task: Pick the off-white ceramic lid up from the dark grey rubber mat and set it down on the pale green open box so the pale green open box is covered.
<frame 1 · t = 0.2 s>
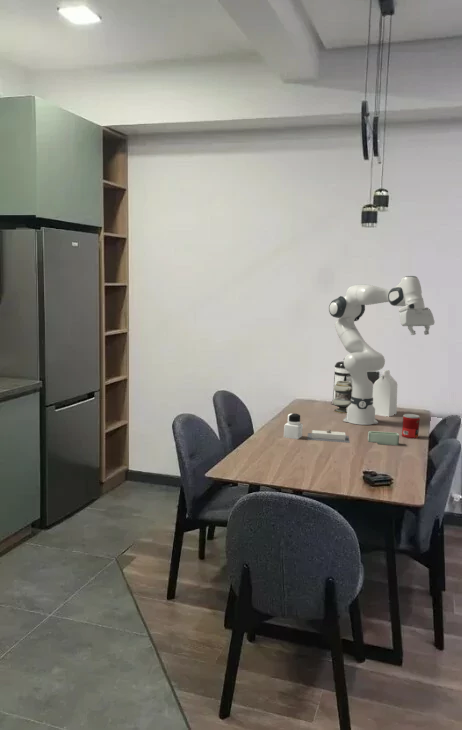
hand: (420, 334, 312), 52 cm above the table, tool tilted 20°, fingers open, 8 cm apart
pale green open box: (382, 443, 305), on the table
medicine bottle: (292, 438, 308), on the table
lid: (328, 437, 309), point 1 cm above the table, touching mat
coffee press: (344, 405, 400), on the table
mat: (328, 439, 309), on the table
canned food: (409, 437, 321), on the table
milk: (383, 414, 377), on the table
apothecary jar: (342, 411, 379), on the table
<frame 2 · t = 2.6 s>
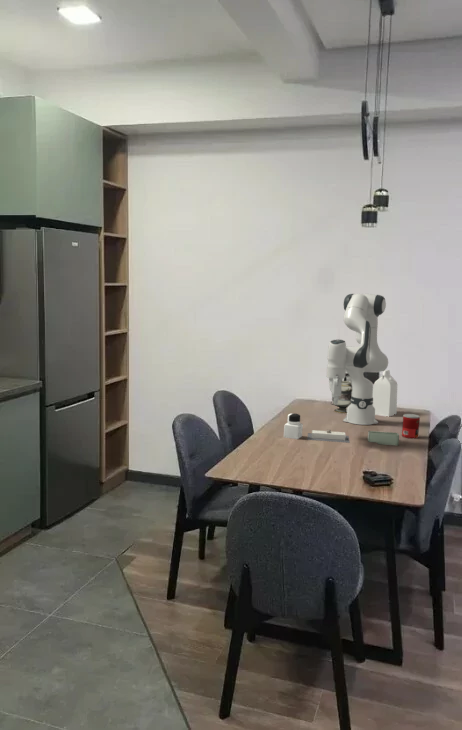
hand: (334, 402, 305), 19 cm above the table, tool pointing down, fingers open, 8 cm apart
nothing on the table moved.
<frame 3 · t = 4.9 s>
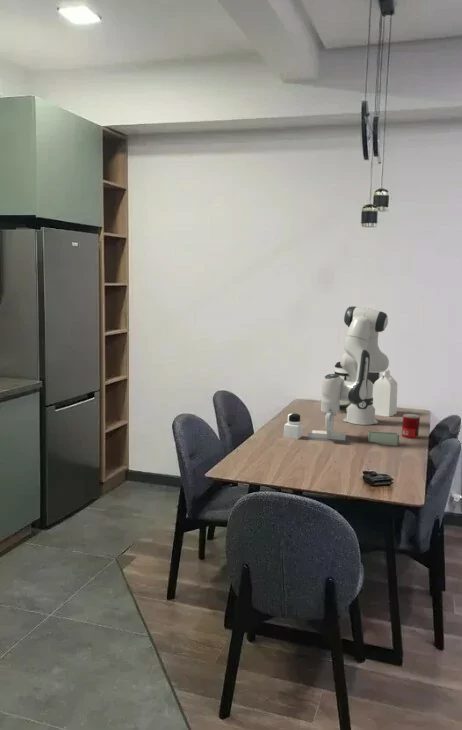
hand: (328, 435, 309), 2 cm above the table, tool pointing down, fingers closed on lid, 6 cm apart
lid: (328, 437, 309), point 1 cm above the table, touching gripper, mat
everything else where it was.
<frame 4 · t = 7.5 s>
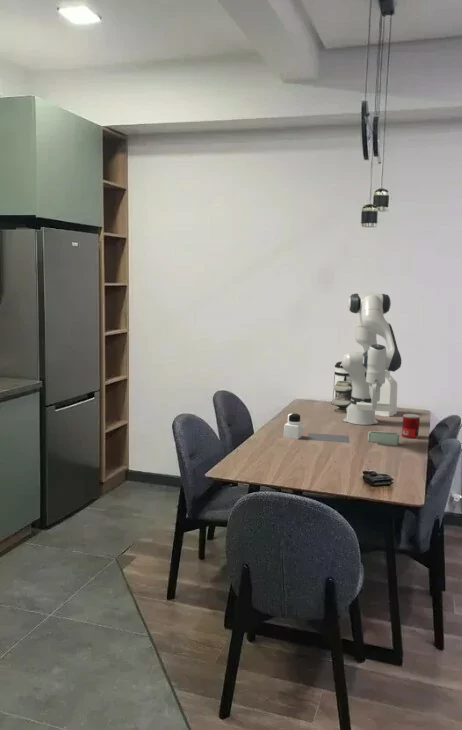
hand: (373, 407, 304), 17 cm above the table, tool pointing down, fingers closed on lid, 6 cm apart
lid: (373, 409, 304), point 16 cm above the table, touching gripper
everything else where it was.
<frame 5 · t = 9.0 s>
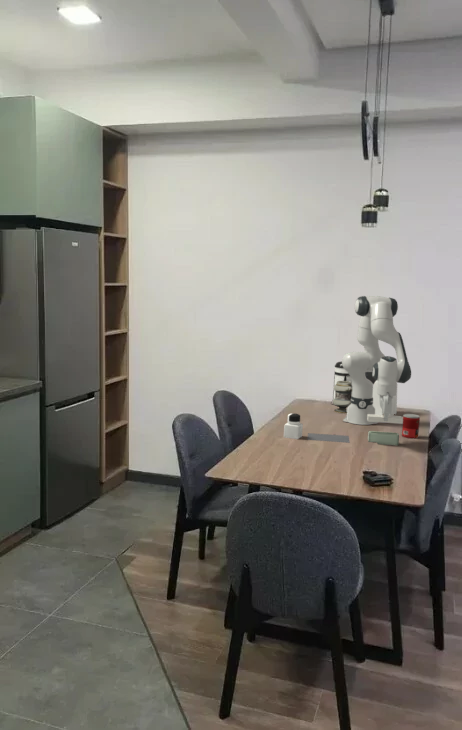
hand: (384, 419, 304), 12 cm above the table, tool pointing down, fingers closed on lid, 6 cm apart
lid: (384, 421, 304), point 11 cm above the table, touching gripper
everything else where it was.
when the fingers open (7 cm above the table, at t = 10.3 s): lid drops 1 cm, resting on pale green open box.
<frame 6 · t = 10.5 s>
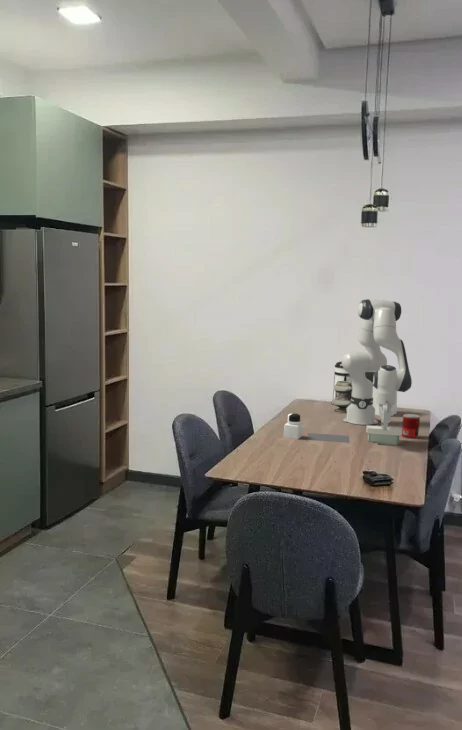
hand: (383, 428, 304), 7 cm above the table, tool pointing down, fingers open, 8 cm apart
lid: (383, 432, 305), point 5 cm above the table, touching pale green open box
everything else where it was.
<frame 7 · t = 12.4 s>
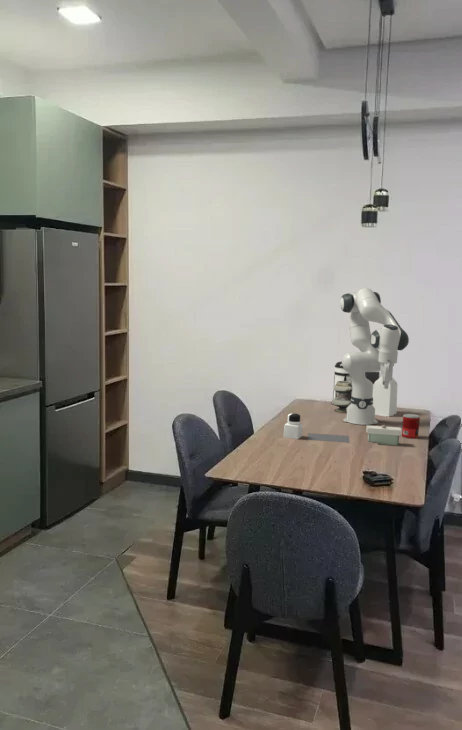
hand: (385, 386, 309), 26 cm above the table, tool pointing down, fingers open, 8 cm apart
nothing on the table moved.
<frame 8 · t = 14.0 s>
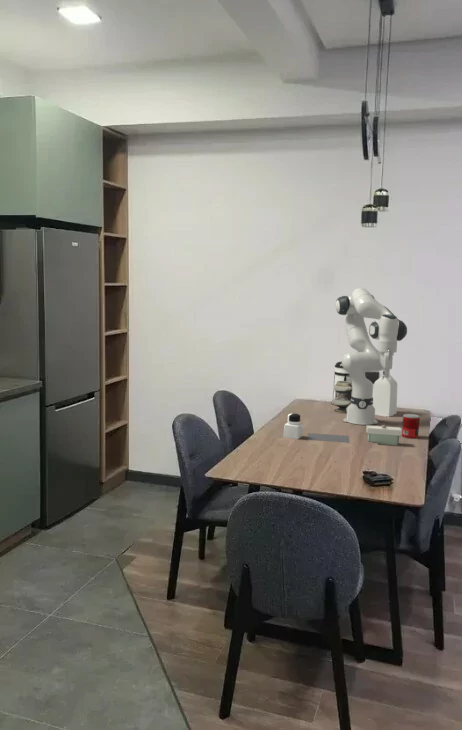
hand: (385, 376, 311), 31 cm above the table, tool pointing down, fingers open, 8 cm apart
nothing on the table moved.
at the end: lid 0.1 cm off-centre on the pale green open box, point 5.0 cm above the pale green open box's base; lid tilted 0°; the gripper is holding nothing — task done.
